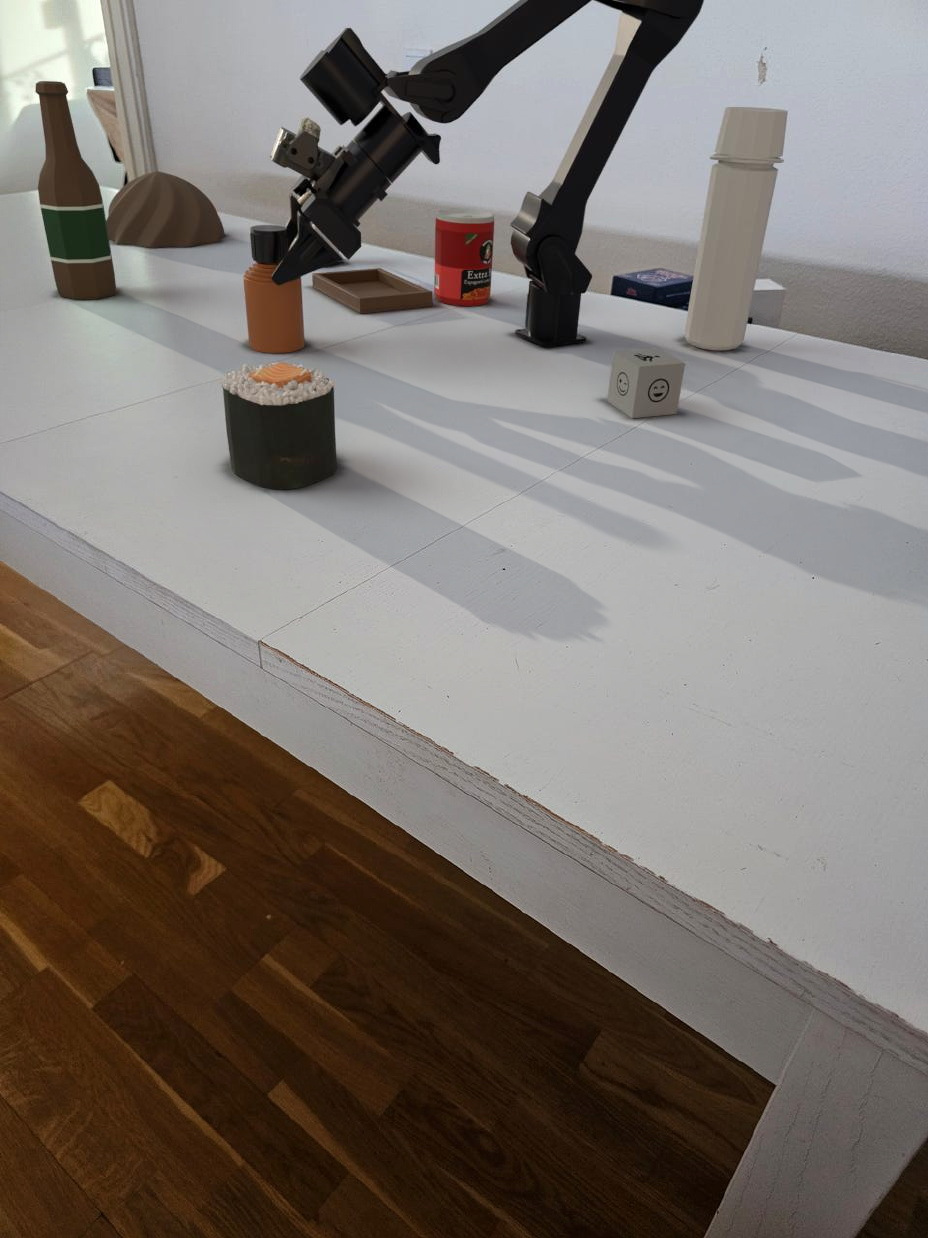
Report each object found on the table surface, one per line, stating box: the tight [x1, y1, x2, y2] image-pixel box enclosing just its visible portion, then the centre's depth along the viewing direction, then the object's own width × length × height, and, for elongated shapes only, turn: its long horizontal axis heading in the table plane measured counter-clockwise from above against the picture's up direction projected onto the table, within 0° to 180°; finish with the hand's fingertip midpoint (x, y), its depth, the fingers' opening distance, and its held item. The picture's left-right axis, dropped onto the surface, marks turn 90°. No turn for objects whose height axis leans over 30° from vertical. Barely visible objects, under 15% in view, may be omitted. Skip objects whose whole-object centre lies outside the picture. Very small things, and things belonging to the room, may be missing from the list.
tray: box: [311, 267, 433, 315], centre depth 123 cm, size 16×11×2 cm
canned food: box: [433, 208, 495, 307], centre depth 121 cm, size 8×8×11 cm
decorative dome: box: [106, 170, 226, 249], centre depth 151 cm, size 19×20×10 cm
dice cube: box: [606, 347, 686, 419], centre depth 88 cm, size 5×5×5 cm
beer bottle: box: [34, 80, 117, 300], centre depth 112 cm, size 8×8×24 cm
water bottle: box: [683, 106, 789, 352], centre depth 104 cm, size 9×8×25 cm
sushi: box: [219, 361, 338, 490], centre depth 71 cm, size 8×8×8 cm
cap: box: [249, 224, 289, 263], centre depth 96 cm, size 4×4×3 cm
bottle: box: [242, 261, 306, 354], centre depth 99 cm, size 6×6×12 cm
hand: (272, 272), depth 98 cm, fingers open, 9 cm apart
